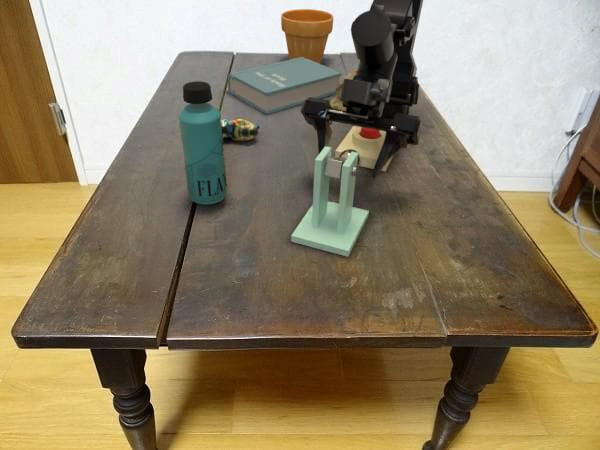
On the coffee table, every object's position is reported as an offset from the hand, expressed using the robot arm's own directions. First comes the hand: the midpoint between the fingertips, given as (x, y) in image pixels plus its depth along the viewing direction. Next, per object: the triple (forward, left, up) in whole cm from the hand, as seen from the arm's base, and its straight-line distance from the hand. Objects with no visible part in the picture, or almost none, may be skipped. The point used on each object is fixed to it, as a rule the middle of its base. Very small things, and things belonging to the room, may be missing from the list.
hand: (346, 171), depth 76 cm
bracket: (+5, +4, -7) cm, 9 cm away
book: (-12, -50, -7) cm, 52 cm away
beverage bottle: (+20, -11, -7) cm, 24 cm away
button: (-14, -15, -3) cm, 21 cm away
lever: (+2, +2, +1) cm, 3 cm away
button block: (-14, -15, -7) cm, 22 cm away
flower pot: (-27, -68, -7) cm, 74 cm away
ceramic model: (-25, -36, -7) cm, 45 cm away
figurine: (+10, -33, -7) cm, 35 cm away
